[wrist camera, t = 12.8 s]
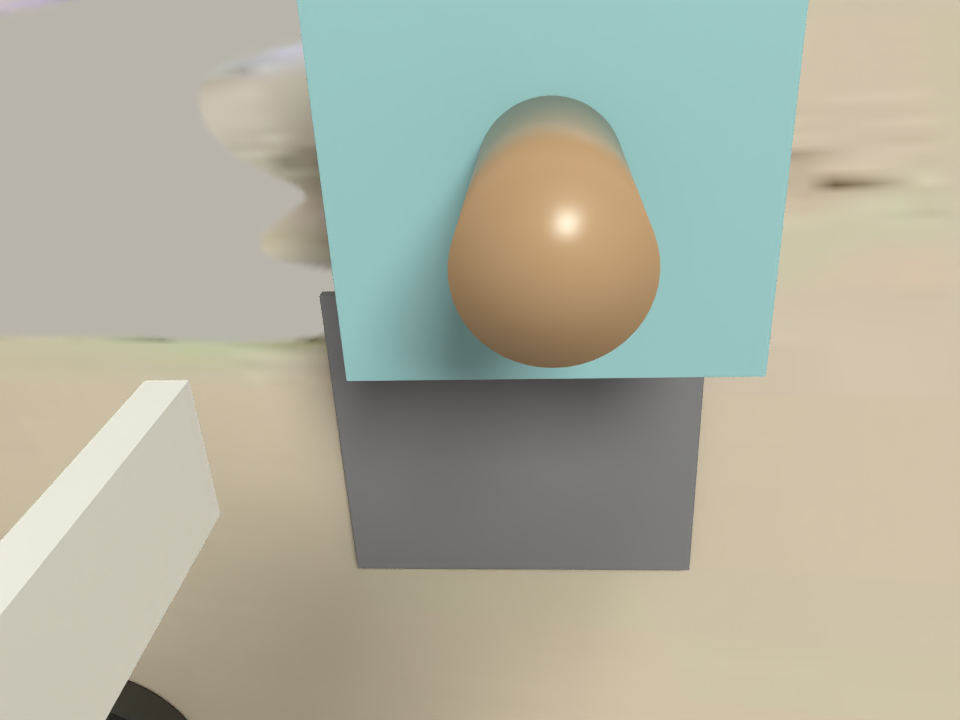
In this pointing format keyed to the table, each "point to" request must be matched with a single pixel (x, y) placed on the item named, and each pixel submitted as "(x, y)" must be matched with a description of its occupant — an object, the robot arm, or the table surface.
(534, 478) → the mat
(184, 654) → the table surface
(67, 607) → the robot arm
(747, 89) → the cover board
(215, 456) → the table surface
